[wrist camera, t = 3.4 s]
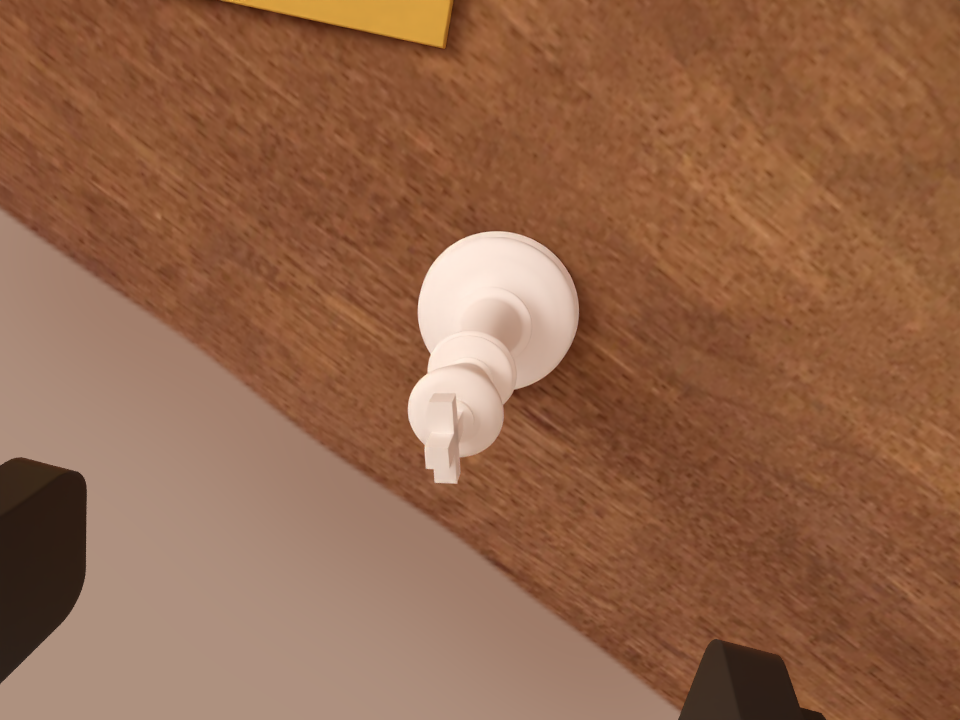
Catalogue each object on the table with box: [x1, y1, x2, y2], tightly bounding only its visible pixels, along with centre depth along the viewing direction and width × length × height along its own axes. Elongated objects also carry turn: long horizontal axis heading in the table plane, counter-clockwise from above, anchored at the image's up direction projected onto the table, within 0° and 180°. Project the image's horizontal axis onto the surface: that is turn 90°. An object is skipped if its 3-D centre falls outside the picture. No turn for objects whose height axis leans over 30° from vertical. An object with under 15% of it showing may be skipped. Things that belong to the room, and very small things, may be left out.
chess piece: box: [408, 231, 579, 483], centre depth 18 cm, size 5×5×10 cm
